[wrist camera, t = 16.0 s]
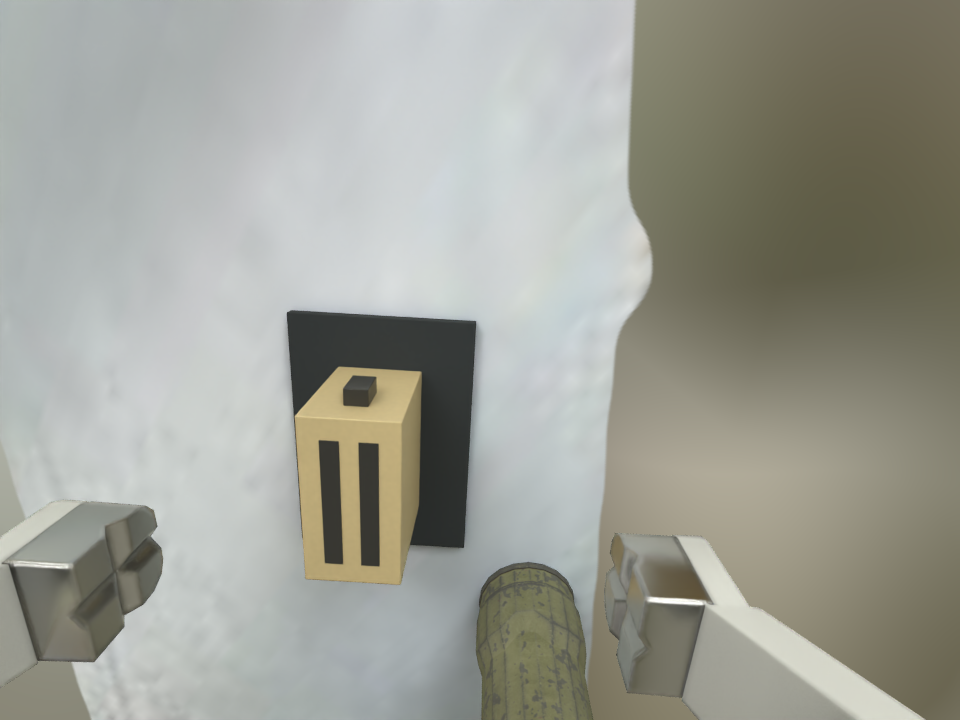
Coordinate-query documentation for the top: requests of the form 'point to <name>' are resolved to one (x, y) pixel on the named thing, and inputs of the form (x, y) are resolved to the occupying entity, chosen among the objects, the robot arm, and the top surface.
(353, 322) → the mat
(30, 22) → the top surface
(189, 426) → the top surface
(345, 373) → the toaster
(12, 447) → the top surface
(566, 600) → the thermos
